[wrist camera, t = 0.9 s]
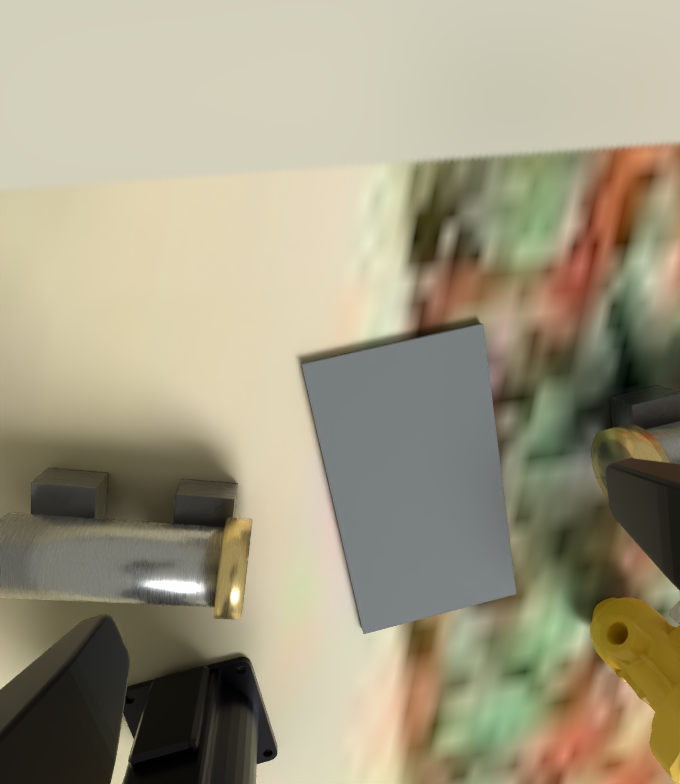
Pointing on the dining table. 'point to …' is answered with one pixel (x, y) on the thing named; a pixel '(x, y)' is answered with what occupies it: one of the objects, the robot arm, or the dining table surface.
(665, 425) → the shaft
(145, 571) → the shaft
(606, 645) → the pressure relief valve
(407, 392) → the seat mat
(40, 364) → the dining table surface
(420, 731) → the dining table surface
